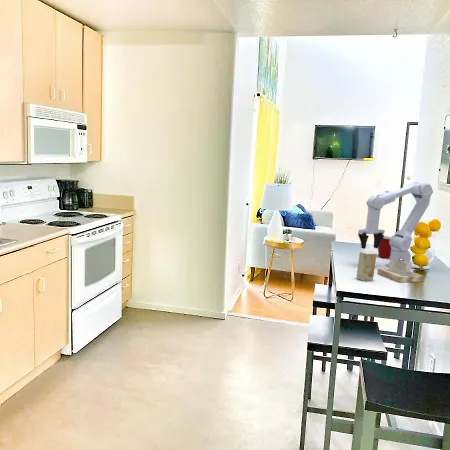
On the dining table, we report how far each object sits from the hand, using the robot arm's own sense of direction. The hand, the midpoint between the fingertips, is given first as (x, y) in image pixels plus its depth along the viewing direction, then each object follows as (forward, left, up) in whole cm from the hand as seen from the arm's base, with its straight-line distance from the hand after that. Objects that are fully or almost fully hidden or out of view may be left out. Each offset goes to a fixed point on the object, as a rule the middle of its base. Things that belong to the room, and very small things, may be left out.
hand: (369, 248), depth 222 cm
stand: (-2, +20, -9) cm, 22 cm away
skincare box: (+18, +20, -10) cm, 29 cm away
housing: (-2, +20, -7) cm, 21 cm away
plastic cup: (-26, -17, -10) cm, 33 cm away
